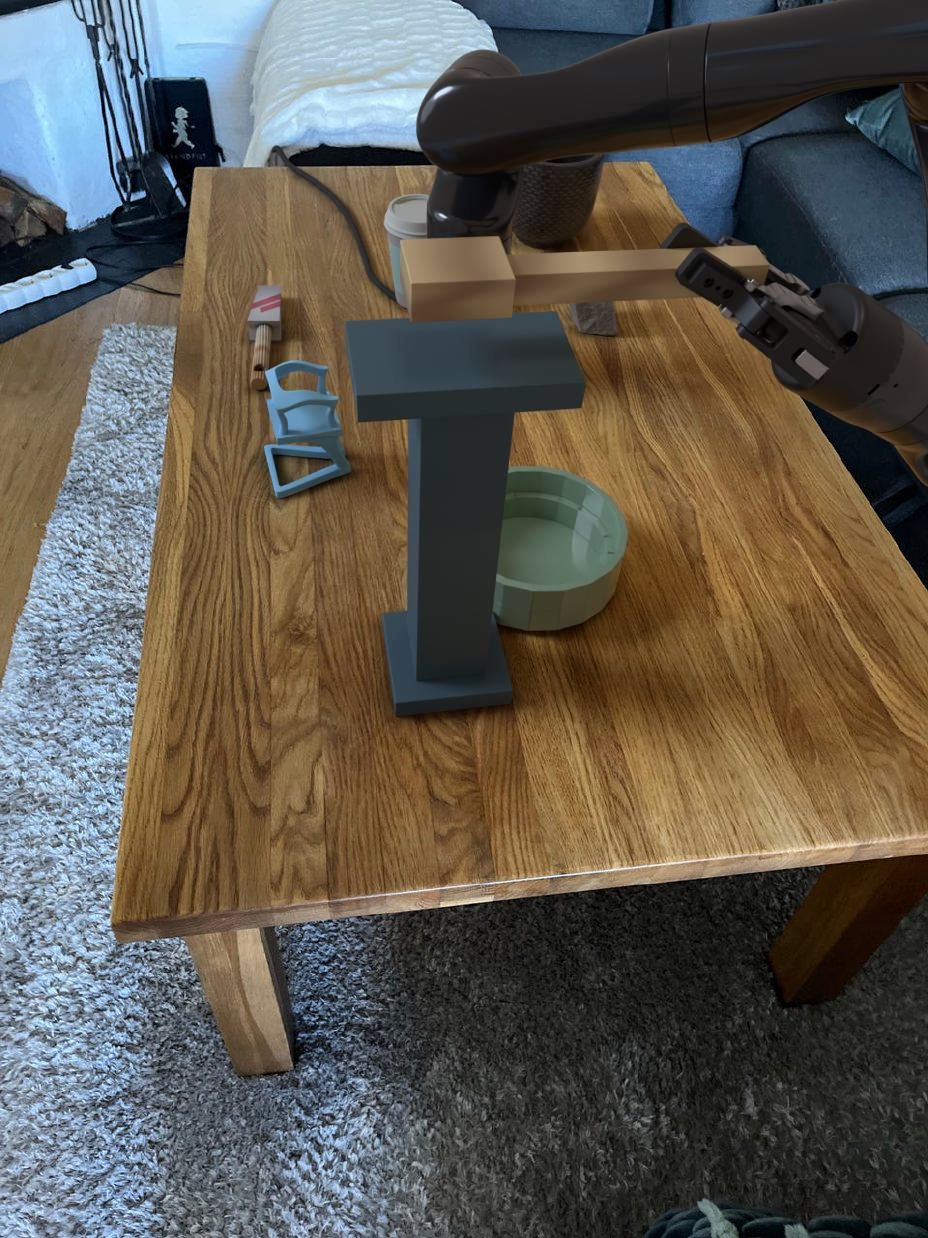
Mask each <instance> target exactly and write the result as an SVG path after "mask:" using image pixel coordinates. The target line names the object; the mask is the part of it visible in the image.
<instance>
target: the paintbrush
mask: <svg viewBox="0 0 928 1238" xmlns="http://www.w3.org/2000/svg"><path fill="white" fill-rule="evenodd" d="M253 299H254V300H253V301H252V305H251V308H250V311H249V314H248V317H247V320H246V321H247V325H248V330H249V331H248V332H249V333H248V334H249V337H248V338H249V341H255V342H254V348H253V349H254V352H253V358H252V366H251V375H250V386H251V388H253V389H254V390H256V391H261V390H262V391H263V390H264V389H266V388H267V387H268V380H267V377H266V374H265V372H266V371H268V370H270V369H269V367H270V359H271V344H272V341H282V285H270V284H269V285H267V284H266V285H265V284H262V285H260V284H259V285H258V287H257V290H256V293H255V296H254V298H253Z"/></svg>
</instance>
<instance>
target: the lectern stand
mask: <svg viewBox="0 0 928 1238" xmlns="http://www.w3.org/2000/svg"><path fill="white" fill-rule="evenodd" d="M344 332H345V333H344V335H345V350H346V355H347V361H348V368H349V375H350V383H351V387H352V388H351V389H352V395H353V402H354V407H355V408H354V409H355V415H356V420H357V423H359V424H360V423H375V422H390V421H392V422H393V421H405V420H407V542H406V543H407V545H406V546H407V547H406V548H407V549H406V551H407V556H406V557H407V559H406V561H407V562H406V564H407V565H406V566H407V567H406V591H407V592H406V610H399V611H389V612H382V613H381V628H382V629H381V630H382V634H383V635H382V636H383V643H384V649H385V655H386V661H387V668H388V669H387V670H388V676H389V682H390V689H391V696H392V703H393V710H394V716H395V717H404V716H413V715H423V714H429V713H430V714H431V713H441V712H446V711H447V712H448V711H449V712H450V711H456V710H457V711H458V710H467V709H476V708H484V707H495V706H503V705H511V704H512V699H513V693H514V689H513V683H512V680H511V676H510V671H509V668H508V664H507V660H506V656H505V652H504V648H503V644H502V640H501V636H500V631H499V628H498V623H496V620H495V616H494V612H493V603H494V594H495V585H496V576H497V567H498V558H499V549H500V541H501V532H502V523H503V514H504V505H505V496H506V487H507V478H508V469H509V467H510V460H511V452H512V451H511V450H512V441H513V433H514V432H513V431H514V425H515V424H514V422H515V414H516V413H530V412H532V413H533V412H545V411H546V412H547V411H563V410H564V411H565V410H578V409H582V408H583V402H584V397H585V391H586V386H587V381H586V377H584V373H583V371H582V369H581V366H580V364H579V361H578V359H577V356H576V355H575V352H574V349H573V348H572V345H571V343H570V341H569V338H568V335H567V333H566V330H565V328H564V326H563V323H562V322H561V319H560V316H559V314H558V312H557V310H547V311H546V310H545V311H525V312H522V311H521V312H513V314H512V318H499V319H478V320H457V321H435V322H414V323H412V322H411V321H410V317H400V318H397V317H396V318H380V319H379V318H378V319H377V318H376V319H357V320H345V321H344Z"/></svg>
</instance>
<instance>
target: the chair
mask: <svg viewBox="0 0 928 1238" xmlns="http://www.w3.org/2000/svg"><path fill="white" fill-rule="evenodd" d="M329 369H330V368H329V366H328V365H320V364H315V363H312V362H309V361H306V360H301V359H290V360H287V361H284V362H282V363H280V364H278V365H276V366H274V367H271V368H270V369H268V371H266V372H265V374H266V377H267V384H268V385H269V390H270V391H269V392H270V397H271V398H267V399H266V405H267V409H268V413H269V418H270V422H271V425H272V429H273V433H274V437H275V440H276V441H275V442H276V443H273V444H272V443H270V444H266V445H264V447H263V450H264V454H265V457H266V462H267V466H268V470H269V474H270V478H271V483H272V486H273V490H274V494H275V497H276V498H277V499H283V498H286V497H289V496H293V495H295V494H296V493H300V492H303V491H304V490H307V489H309V488H313V487H315V486H318V485H319V484H322V483H324V482H326V481H329V480H331V479H334V478H337V477H341V476H344V475H347V474H349V473H351V471H352V469H351V465H350V462H349V461H348V459H347V458H346V456H347V454H346V449H345V447H344V445H343V443H342V441H341V440H340V437H343V428H342V425H341V422H340V418H339V416H338V414H337V411H336V409H337V405H338V402H339V400H340V397H339V396H337V395H332V394H331V392H330V391H329V390H328V391H327V390H326V378H327V374H328V371H329ZM294 372H295V373H296V372H304V373H309V374H312V375H316V376H318V381H317V391H314V390H310V389H309V390H308V389H295V390H284V389H283V388H282V387H281V385H280V383H279V380H280V379H282V378H283V377H284V376H286V375H289V374H291V373H294ZM295 443H297V444H295ZM298 444H312V445H315V446H309V445H298ZM273 455H279V456H290V457H291V456H292V457H299V458H300V457H301V458H312V459H325V460H331V461H332V462H333V463H334V464H332V465H329V466H327V467H325V468H322V469H320V470H317V471H315V472H312V473H310V474H308V475H305V476H303V477H301V478H299V479H296V480H294V481H292V482H289V483H287V484H285V485H280V481H279V478H278V473H277V468H276V464H275V460H274V456H273Z"/></svg>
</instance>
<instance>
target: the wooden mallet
mask: <svg viewBox="0 0 928 1238" xmlns="http://www.w3.org/2000/svg"><path fill="white" fill-rule="evenodd" d="M750 245H751V246H724V247H702V248H704V249H705V250H707V251H708V252H710V253H712V254H713V255H715V256H716V257H718V258H719V259H721V260H723V261H724V262H726V263H727V264H729V265H730V266H732V267H733V268H735V269H736V270H738V271H739V272H741V274H742V275H743V277H744V278H745V277H746V276H749V277H751V278H755V279H756V280H757V281H758V282H759V283H761V284H763V285H764V282H765V279H766V276H767V273H768V270H769V267H770V264H771V263H770V262H769V261H768V260H767V259H765V257H764V256H763V254H762V253H761V252H760V250H759V247H758V246H757V245H756V244H755V245H752V244H750ZM693 249H694V248H674V249H660V248H648V249H647V248H645V249H644V248H643V249H624V250H623V249H620V250H595V251H594V250H593V251H571V252H569V251H568V252H538V253H516V254H515V253H513V254H512V253H511V254H510V255H506V253H505V250H504V247H503V245H502V242H501V240H500V237H499V236H491V237H461V238H432V239H403V240H400V279H401V284H402V288H403V292H404V296H405V300H406V305H407V308H406V310H407V312H408V313H407V314H408V316H409V317H408V318H410V321H411V322H412V323H414V322H435V321H457V320H478V319H499V318H512V314H513V313H514V307H520V306H521V307H522V306H539V305H540V306H541V305H543V306H544V305H565V304H567V305H568V304H570V303H589V302H610V301H613V302H629V301H630V302H631V301H632V302H633V301H649V300H650V301H651V300H652V301H653V300H675V299H676V300H677V299H694V298H695V299H696V298H702V297H701V296H699V295H697V294H696V293H694V292H692V291H691V290H689V289H687V288H686V287H684V286H682V285H681V284H680V283H679V281H678V280H677V278H676V276H675V273H676V270H677V268H678V267H679V266H680V264H681V263H682V262H683V261H684V259H685V258H686V257H687V256H688V254H689V253H690V252H691V251H692V250H693ZM769 263H770V264H769ZM744 278H743V279H744ZM743 279H742V280H741V282H742V281H743Z"/></svg>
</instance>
